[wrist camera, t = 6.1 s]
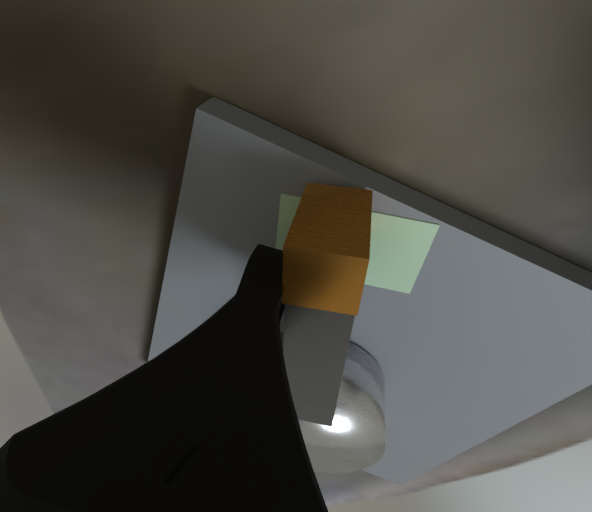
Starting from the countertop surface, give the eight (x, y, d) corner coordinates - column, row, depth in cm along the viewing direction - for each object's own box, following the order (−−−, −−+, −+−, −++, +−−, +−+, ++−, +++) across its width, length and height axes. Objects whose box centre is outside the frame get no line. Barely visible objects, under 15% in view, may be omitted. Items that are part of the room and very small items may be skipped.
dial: (253, 399, 17) (231, 468, 14) (237, 171, 10) (190, 232, 7) (371, 423, 16) (370, 500, 14) (450, 196, 9) (476, 274, 7)
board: (400, 462, 20) (401, 486, 19) (154, 366, 19) (142, 386, 18) (660, 304, 11) (687, 335, 10) (213, 96, 10) (195, 108, 9)
